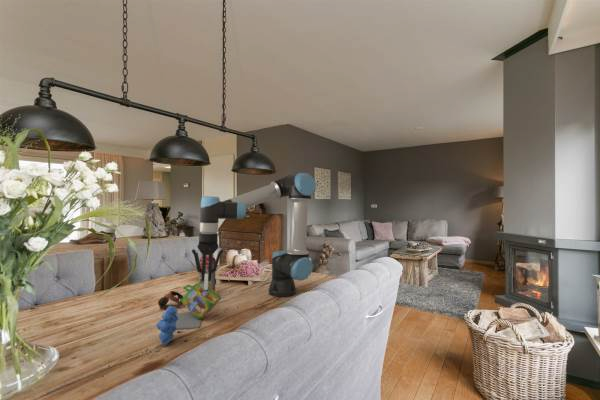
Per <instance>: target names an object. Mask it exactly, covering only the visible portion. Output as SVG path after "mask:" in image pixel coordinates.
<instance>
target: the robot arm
mask: <svg viewBox="0 0 600 400" xmlns="http://www.w3.org/2000/svg"><path fill="white" fill-rule="evenodd" d="M316 189H317V185H316V180H315V178H314V177H313V176H312V175H311V174H309V173H307V172H298V173H294V174H287V175H286V176H282V177H280V178H278V179H276V180H274V181H271V182H270V184H268V185H265V186H262V187H259V188H256V189H253V190H252V191H248V192H246V193H242V194H240V195H237V196H234V197H232V198H229V199H226V200H223V201H221V200H220V197H219V196H212V195H211V196H210V195H209V196H207V195H204V196H202V197H201V200H200V206H199V207H200V210H199V212H200V213H199V214H200V215H199V216H200V217H199V218H200V219H199V234H198V244H197V246H196V247H194V248H192V249H191V252H192V254H193V257H194V262H195V266H196V270H197V273H199V272H200V273H202V281H204V290H208V281H211V273H213V272H215V273H216V271H217V268H218V264H219V262H220V257H221V255H222V254H223V253H224V249H223V248H221V247H219V244H218V239H219V236H218V232H219V219H221V220H222V219H223V220H224V219H225V220H242V219H244V218H245V217H246V215H247V209H249V208H252V207H255V206H257V205H260V204H262V203H266V202H268V201H270V200H273V199H280V198H285V197H288V200H289V201H290V203H291V204H290V205H291V206H290V208H291V209H290V225H289V226H290V227H289V228H290V229H289V230H290V231H289V249H288V250H277V251H273V252H272V255H271V281H270V284H269V287H268V295H270V296H272V297H275V298H276V297H277V298H279V297H280V298H286V297H293V296H295V295H297V288H296V287H297V286H296V284H295V281H304V280H306V279H308V278H309V276H311V274H312V273H313V269H314V264H313V262H312V260H311V259H310V252H309V251H308V250H307V236H308V233H307V232H308V212H309V211H308V210H309V208H308V207H309V205H308V204H309V202H310V201H312V196H313V194H314V193H315V192H316ZM216 251H217V256H216V258H215V259H216V261H215V265H214V268H213V269H212V255H214V254H215V253H216ZM199 252H200V254H203V259H202V269H201V266H200V261H199V260H200V258H199V254H198V253H199ZM206 255H209V267H208V273H205V270H206Z"/></svg>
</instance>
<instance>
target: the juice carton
mask: <svg viewBox="0 0 600 400" xmlns="http://www.w3.org/2000/svg"><path fill="white" fill-rule="evenodd" d="M214 256H215V255H214V254H213V255H212V269H213V268H214V265H215V261H216V258H215V257H214ZM202 259H203V254H202V253H200V258H199V261H200V266H201V269H202ZM208 267H209V255H206V270H205V273H208ZM201 281H202V273H200V272H198V282H197V283H199V282H201ZM208 285H209V286H210V287H211V288H212V289H213V290H214V291H215V292H216V271H215V272H213V273H211V281H208Z"/></svg>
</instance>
